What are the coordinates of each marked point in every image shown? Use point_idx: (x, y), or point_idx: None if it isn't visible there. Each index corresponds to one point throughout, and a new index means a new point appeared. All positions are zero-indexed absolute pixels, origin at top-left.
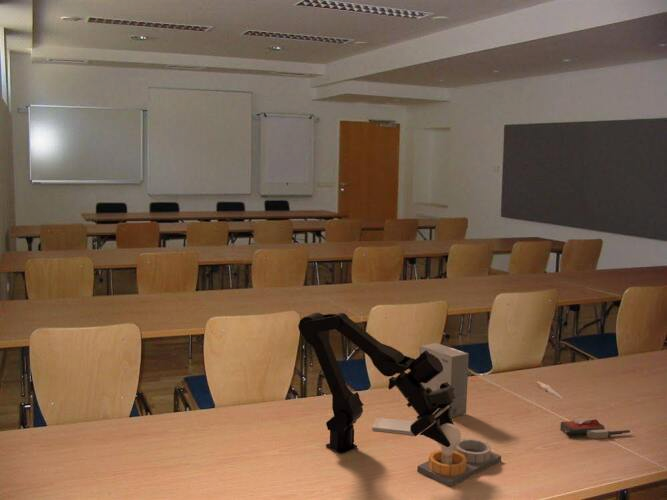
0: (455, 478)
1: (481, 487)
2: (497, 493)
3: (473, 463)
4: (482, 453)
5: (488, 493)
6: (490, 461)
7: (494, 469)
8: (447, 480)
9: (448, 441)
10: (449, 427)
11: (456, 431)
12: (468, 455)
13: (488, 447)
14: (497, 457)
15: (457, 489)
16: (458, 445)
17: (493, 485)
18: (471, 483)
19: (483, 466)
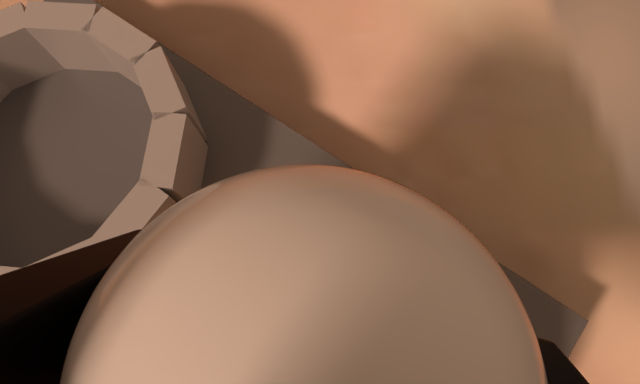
0: (526, 288)
1: (495, 115)
2: (543, 24)
3: (219, 157)
4: (165, 60)
5: (564, 73)
6: (161, 45)
7: (210, 41)
8: (566, 355)
9: (559, 375)
10: (429, 380)
11: (406, 209)
12: (182, 179)
13: (41, 19)
14: (93, 2)
15: (588, 274)
16: (18, 268)
17: (441, 46)
18: (458, 179)
19: (231, 94)
